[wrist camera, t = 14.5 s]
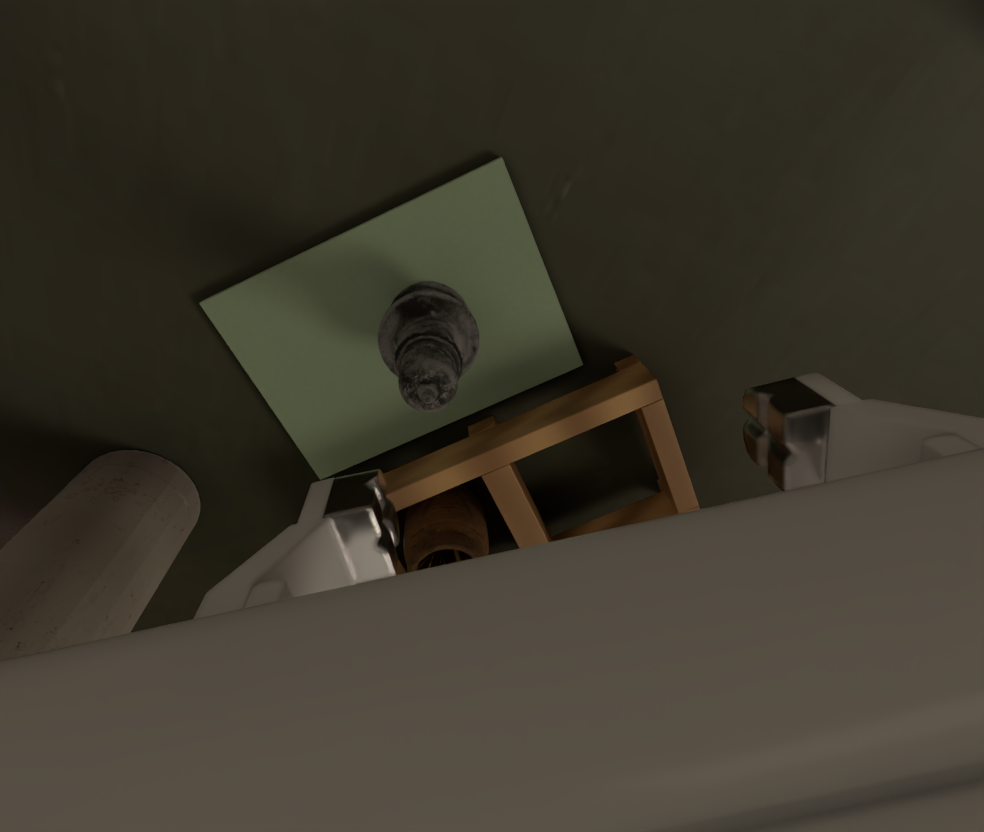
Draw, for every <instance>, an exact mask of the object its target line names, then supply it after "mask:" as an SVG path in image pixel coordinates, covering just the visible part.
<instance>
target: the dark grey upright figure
mask: <svg viewBox="0 0 984 832" xmlns="http://www.w3.org/2000/svg"><path fill="white" fill-rule="evenodd" d="M378 347H379V351H380V354H381V356H382V359H383V361H384V363H385V364H386V365H387V367H388V368H389V370H390V371H391V372H392V373H394V374H395V375H396V376H397V377H398V379H399V380H398V384H399V390H400V393H401V395H402V397H403V399H404V400H405V402H406V403H407V404H408V405H410V406H411V407H412V408H414V409H416V410H418V411H422V412H436V411H440V410H442V409H444V408H446V407H447V406H448V405H449V404H450V403H451V402H452V401H453V399H454V397H455V396H456V393H457V389H458V380H459V379H460V378H461V377H462V376H463V375H464V374H465V373H466V372H467V371H468V370H469V369H470V368H471V366H472V364H473V362H474V361H475V359H476V357H477V353H478V349H479V330H478V327H477V323H476V320H475V319H474V317H473V315H472V314H471V312H470V310H469V309H468V306H467V305H466V303H465V301H464V300H463V298H462V297H461V296H460V295H459V294H458V293H457V292H456V291H455V290H454V289H452V288H450V287H448V286H446V285H444V284H441V283H437V282H420V283H416V284H413V285H410V286H409V287H407V288H405V289H404V290H402V291H401V292H400V293H399V294H398V295H397V296H396V297H395V298H394V300H393V302H392V304H391V306H390V308H389V309H388V310H387V311H386V312H385V314H384V316H383V318H382V320H381V322H380V326H379V331H378Z"/></svg>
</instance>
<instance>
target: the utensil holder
mask: <svg viewBox="0 0 984 832" xmlns="http://www.w3.org/2000/svg"><path fill="white" fill-rule="evenodd" d="M488 551H489V540H488V531H487V524H486V518H485V513H484V509H483V506H482V504H481V502H480V500H479V499H478V497H477V496H476V495H475V494H474V493H473V492H472V491H471V490H469V489H468V488H466V487H464V486H461V485H458V486H455V487H453V488H451V489H448V490H446V491H444V492H441V493H439V494H437V495H434V496H432V497H430V498H427V499H425V500H423V501H420V502H418V503H416V504H413V505H411V506H408V509H407V513H406V518H405V528H404V557H405V561H406V564H407V573H409V572H413V571H418V570H422V569H427V568H432V567H436V566H441V565H445V564H450V563H455V562H459V561H464V560H469V559H473V558H478V557H482V556H487V555H488Z"/></svg>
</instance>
